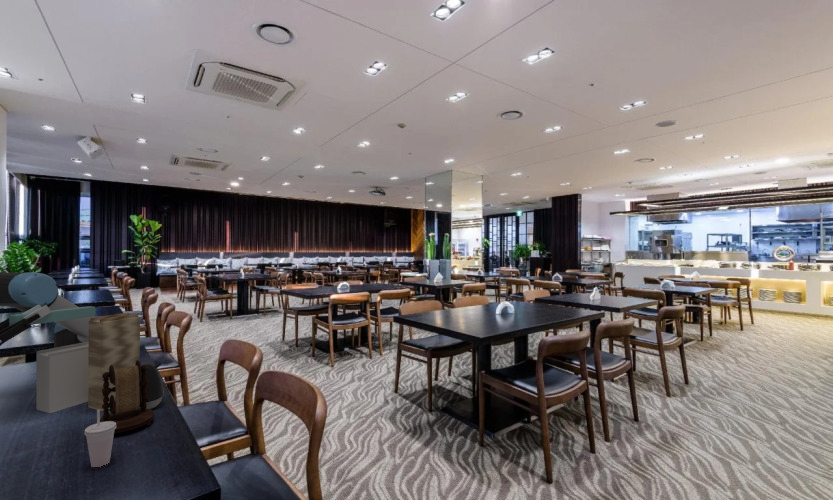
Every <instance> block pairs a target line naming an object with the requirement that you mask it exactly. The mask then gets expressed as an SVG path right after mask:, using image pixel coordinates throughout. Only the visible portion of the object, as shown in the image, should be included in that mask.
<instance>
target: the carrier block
mask: <svg viewBox="0 0 833 500" xmlns="http://www.w3.org/2000/svg"><path fill="white" fill-rule="evenodd" d="M88 363H89V342H83V343H78V344H73V345H67V346H62V347H57V348H54V347H52V348H48V349H41V350H36V386H35V387H36V394H35V395H36V396H35V397H36V399H35V401H36V403H35V404H36V406H35V408H36V410H37V411H40V412H43V413H48V414H52V413H55V412H59V411H62V410H64V409H68V408H71V407H74V406H78V405H81V404H84V403H88Z"/></svg>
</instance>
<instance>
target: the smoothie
mask: <svg viewBox="0 0 833 500" xmlns="http://www.w3.org/2000/svg"><path fill="white" fill-rule="evenodd" d="M100 414H101V411H100V409H98V410H96V422H97V423H96V422H95V423H96V424H95V423H94V424H90V425H89V426H87V427H86V428H85V429H84V436H86V441H87V442H86V443H87V444H86V445H87V449H88V456H89V460H90V467H91V468H92V467H100V468H102V467H101V466H103V465H105V466H107V465H108V463H109V464H110V461H111V454H112V451H113V450H112V448H113V442H114V437H115V436H114V435H115V433H114V430H115V429H116V422H113V421H106V422H100V419H101V415H100ZM106 464H107V465H106ZM103 467H104V466H103Z"/></svg>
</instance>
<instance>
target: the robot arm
mask: <svg viewBox="0 0 833 500" xmlns="http://www.w3.org/2000/svg"><path fill="white" fill-rule="evenodd" d="M0 307H10V308H14V309H17V310H19V311H21V312H22V313H21V314H24V313H31V314H29V315H27V316H25V317H24V319H22V320H20V321H18V322H16V323H14V324H12V325H10V326H9V318H6V319H4V320H2V321H0V347H1V346H2V345H3V344H6V342H8V341H9V340H11V339H13V338H15V337H16V336H18V335H20V334H22V333H23V332H25V331H27V330H28V329H30V328H32V326H33V325H30V324H32V323H33V322H35V321H37V320H39V319H40V318H42V317H44V316H46V315H47V314H49V313H51V310H60V309H69V308H78V307H79V306H77V305H76V304H74V303H73V302H71V301H70V300H68V299H66V298H65V297H63V296H61V295H59V288H58V286H57V281H55V279H54V278H53V277H51V276H50V275H48V274H45V273H42V272H41V273H40V272H31V271H29V272H0ZM95 317H96V316H94V317H87V318H79V319H72V320H64V321H57V322H53V323H55V326H54V332H53V345H54V347H53V348H57V347H62V346H67V345H73V344H78V343H83V342H89V321H90V318H95ZM97 317H100V316H98V315H97Z"/></svg>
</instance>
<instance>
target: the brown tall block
mask: <svg viewBox="0 0 833 500" xmlns="http://www.w3.org/2000/svg"><path fill="white" fill-rule="evenodd" d="M94 317H95V318H90V321H89V363H88V402H87V407H88V408H89V409H93V410H96V411H97V410H98V409H100V412H103V410H104V409H103V408H102V405H103V404H104V402H103V399H104V396H103V394H102V389H103V388H104V387H103V384H104V381H103V379H104V378H103V377H102V375H103V373H105V372H109V367H110V365H113V367H114V370H115V369H121V368H126V367H131V366H135V364H136V361H137V360H139V361H140V362H141V360H140V359H141V317H140V316H139V314H138V313H135V314H130V312H124V313H117V314H116V313H115V314H109V315H101V316H99V317H98V316H94ZM108 382H109V388H111V389H112V388H113V387H115V386H114V385H113V384H112V383H111V382H110V379H109V380H108ZM111 395H113V396H114V400H115V401H116V392H112V391H111V393H109V395H108V397H109V399H110V396H111ZM108 403H109V402H108ZM108 409H109V410H110V407H109V408H108Z"/></svg>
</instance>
